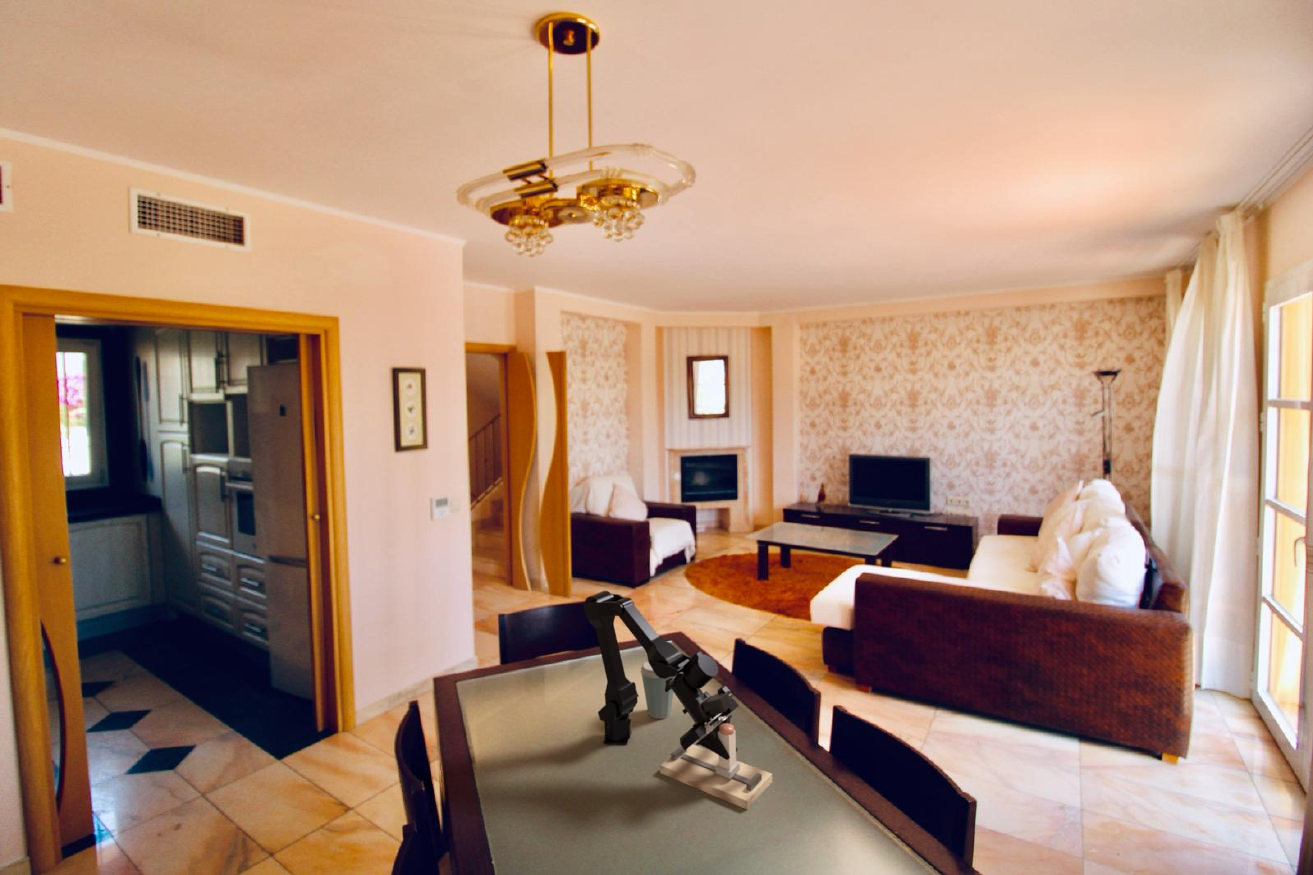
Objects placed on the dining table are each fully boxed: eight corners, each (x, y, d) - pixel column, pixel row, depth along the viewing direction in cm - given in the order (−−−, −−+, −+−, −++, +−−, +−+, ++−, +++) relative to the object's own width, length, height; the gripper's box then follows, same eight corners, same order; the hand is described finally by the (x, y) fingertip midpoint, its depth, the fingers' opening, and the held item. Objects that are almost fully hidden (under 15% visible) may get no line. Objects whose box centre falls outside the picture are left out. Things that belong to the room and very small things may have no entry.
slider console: (660, 773, 151) (659, 759, 151) (687, 749, 160) (687, 737, 160) (747, 809, 136) (747, 794, 136) (772, 782, 146) (771, 768, 146)
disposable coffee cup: (636, 719, 177) (634, 668, 176) (650, 701, 187) (648, 653, 186) (670, 725, 173) (669, 673, 172) (683, 707, 183) (682, 657, 182)
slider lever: (715, 773, 146) (714, 728, 145) (725, 764, 149) (724, 720, 148) (730, 779, 143) (729, 733, 143) (739, 769, 147) (738, 725, 146)
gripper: (688, 695, 140) (732, 759, 134) (730, 666, 155) (772, 721, 149) (662, 719, 145) (703, 781, 139) (705, 688, 160) (743, 743, 154)
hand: (732, 755), depth 145 cm, fingers closed on slider lever, 3 cm apart
